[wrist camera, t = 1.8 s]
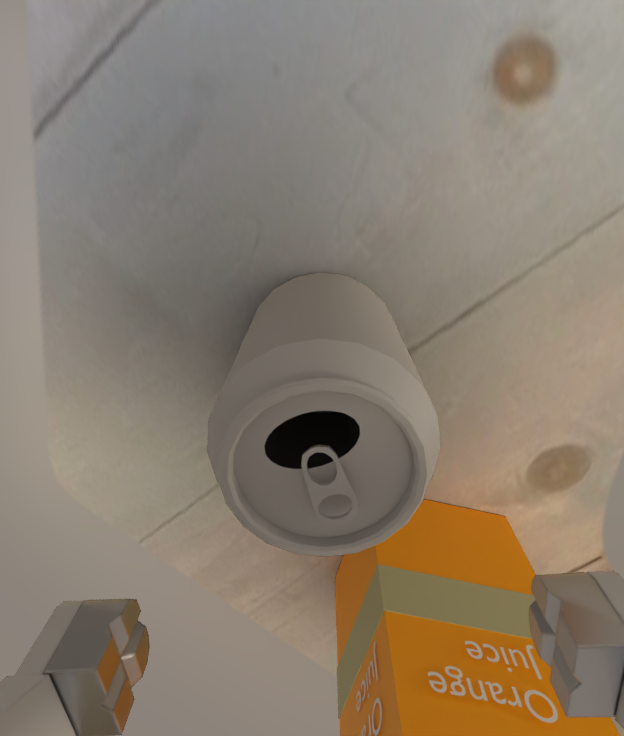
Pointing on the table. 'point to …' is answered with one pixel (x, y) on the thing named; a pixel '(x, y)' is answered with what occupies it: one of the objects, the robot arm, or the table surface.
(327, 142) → the table surface
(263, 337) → the can
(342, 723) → the orange juice
